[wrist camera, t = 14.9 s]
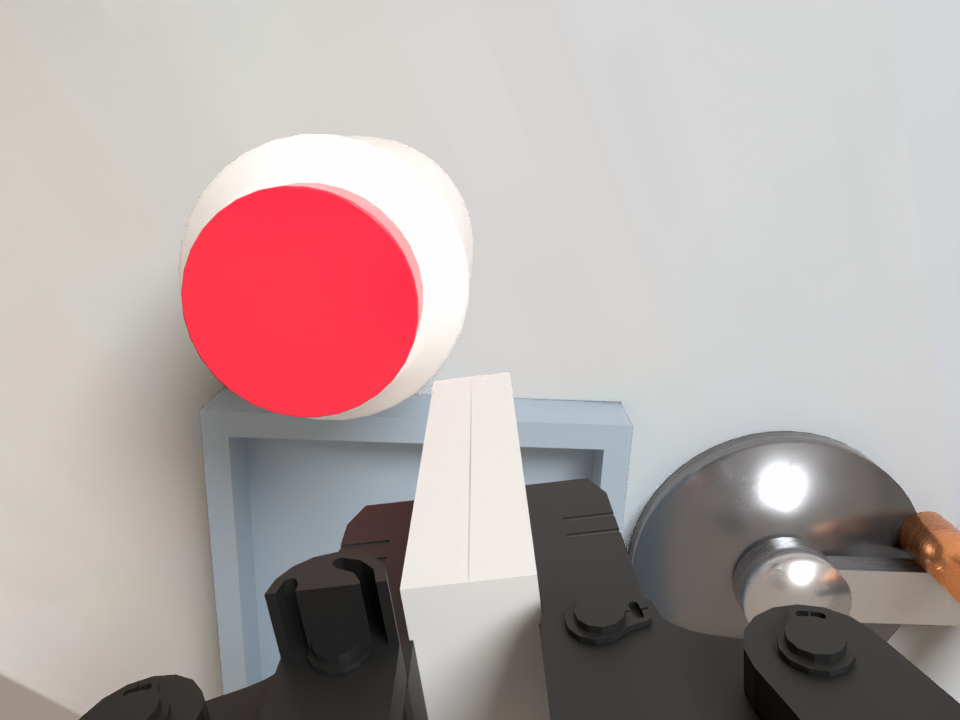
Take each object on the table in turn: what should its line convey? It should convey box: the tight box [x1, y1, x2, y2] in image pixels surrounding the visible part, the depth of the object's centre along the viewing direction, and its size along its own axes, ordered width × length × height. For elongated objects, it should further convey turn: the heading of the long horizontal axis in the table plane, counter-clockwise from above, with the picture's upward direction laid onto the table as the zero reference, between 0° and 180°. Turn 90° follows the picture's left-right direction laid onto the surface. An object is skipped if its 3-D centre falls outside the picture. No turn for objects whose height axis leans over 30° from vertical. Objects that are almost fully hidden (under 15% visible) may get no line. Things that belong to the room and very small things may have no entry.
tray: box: [199, 388, 633, 695], centre depth 30 cm, size 16×16×2 cm
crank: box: [732, 537, 960, 626], centre depth 26 cm, size 12×4×7 cm, turn 88°
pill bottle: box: [179, 134, 473, 420], centre depth 22 cm, size 8×8×11 cm
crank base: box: [629, 431, 960, 642], centre depth 28 cm, size 13×12×5 cm
